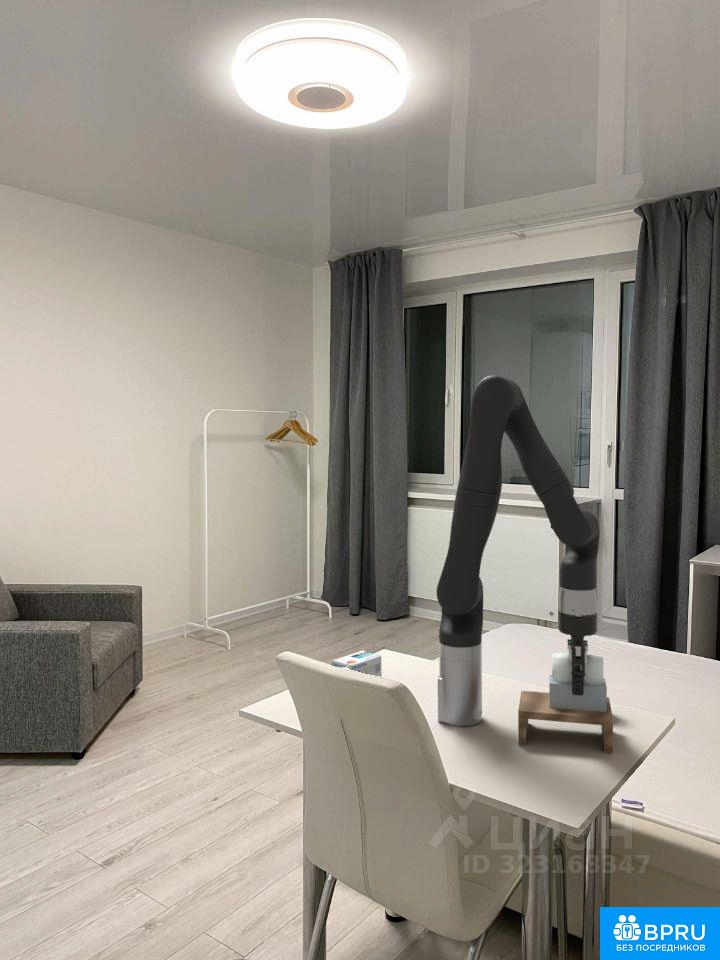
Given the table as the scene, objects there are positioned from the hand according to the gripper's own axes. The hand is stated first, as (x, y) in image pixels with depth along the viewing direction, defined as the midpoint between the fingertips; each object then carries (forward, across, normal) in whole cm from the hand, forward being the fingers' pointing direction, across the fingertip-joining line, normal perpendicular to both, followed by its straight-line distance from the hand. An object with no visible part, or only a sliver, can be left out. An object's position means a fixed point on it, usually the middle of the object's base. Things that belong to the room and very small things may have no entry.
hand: (577, 687), depth 150 cm
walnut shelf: (+11, 0, -2) cm, 11 cm away
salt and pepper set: (+4, 0, 0) cm, 4 cm away
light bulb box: (+11, -10, -50) cm, 52 cm away
